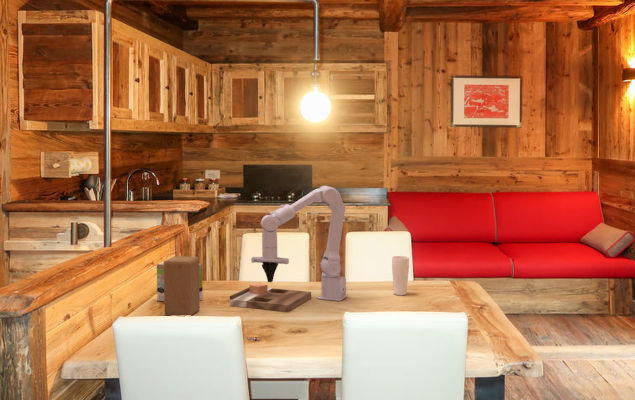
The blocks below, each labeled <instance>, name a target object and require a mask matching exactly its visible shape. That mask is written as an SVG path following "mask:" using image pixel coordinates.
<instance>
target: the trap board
mask: <svg viewBox="0 0 635 400" xmlns="http://www.w3.org/2000/svg"><path fill="white" fill-rule="evenodd" d="M267 288H268V292H267V293H263V294H258V295H257V294H254V293H250V286H249V287H247V288H244V289H242V290H240V291H238V292H235V293H234V294H232V295H230V296H229V307H235V308H236V307H238V308H247V309H254V310H256V309H257V310H264V311H275V312H283V313H289V312H292V310H294V309H296V308H297V307H299V306H301V305H303V304H304V303H307V301H309V300H310V298H311V299H312V291H306V290H305V291H303V290H295V289H283V288H274V287H273V288H272V287H267Z"/></svg>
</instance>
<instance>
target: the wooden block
mask: <svg viewBox="0 0 635 400" xmlns="http://www.w3.org/2000/svg"><path fill="white" fill-rule="evenodd" d="M162 263H163V266H164V301H163V302H164V305H163V306H164V315H165V316H167V315H191V316H192V315H194V314H196V313H197V312H199V310H200V309H201V307H200V306H201V305H200V296H199V264H200V259H199V257H197V256H183V255H182V256H181V255H179V256H178V255H175V256H172V257H170V258H168V259H165V260H163V262H162Z"/></svg>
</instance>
